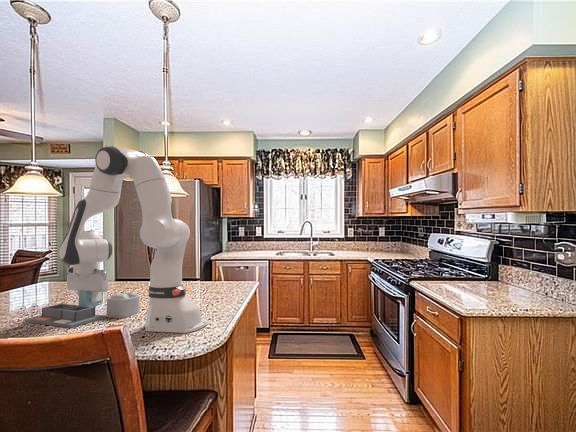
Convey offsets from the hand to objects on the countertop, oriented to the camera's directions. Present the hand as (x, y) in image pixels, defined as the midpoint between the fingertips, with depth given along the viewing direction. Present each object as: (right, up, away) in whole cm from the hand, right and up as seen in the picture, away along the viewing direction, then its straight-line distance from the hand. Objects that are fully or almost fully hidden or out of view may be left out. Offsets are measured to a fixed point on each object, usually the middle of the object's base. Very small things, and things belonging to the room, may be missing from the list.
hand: (87, 301), depth 145 cm
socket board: (0, -4, -14) cm, 15 cm away
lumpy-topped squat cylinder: (+18, -4, -4) cm, 19 cm away
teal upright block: (0, -3, 0) cm, 3 cm away
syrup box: (-5, -5, +13) cm, 15 cm away
